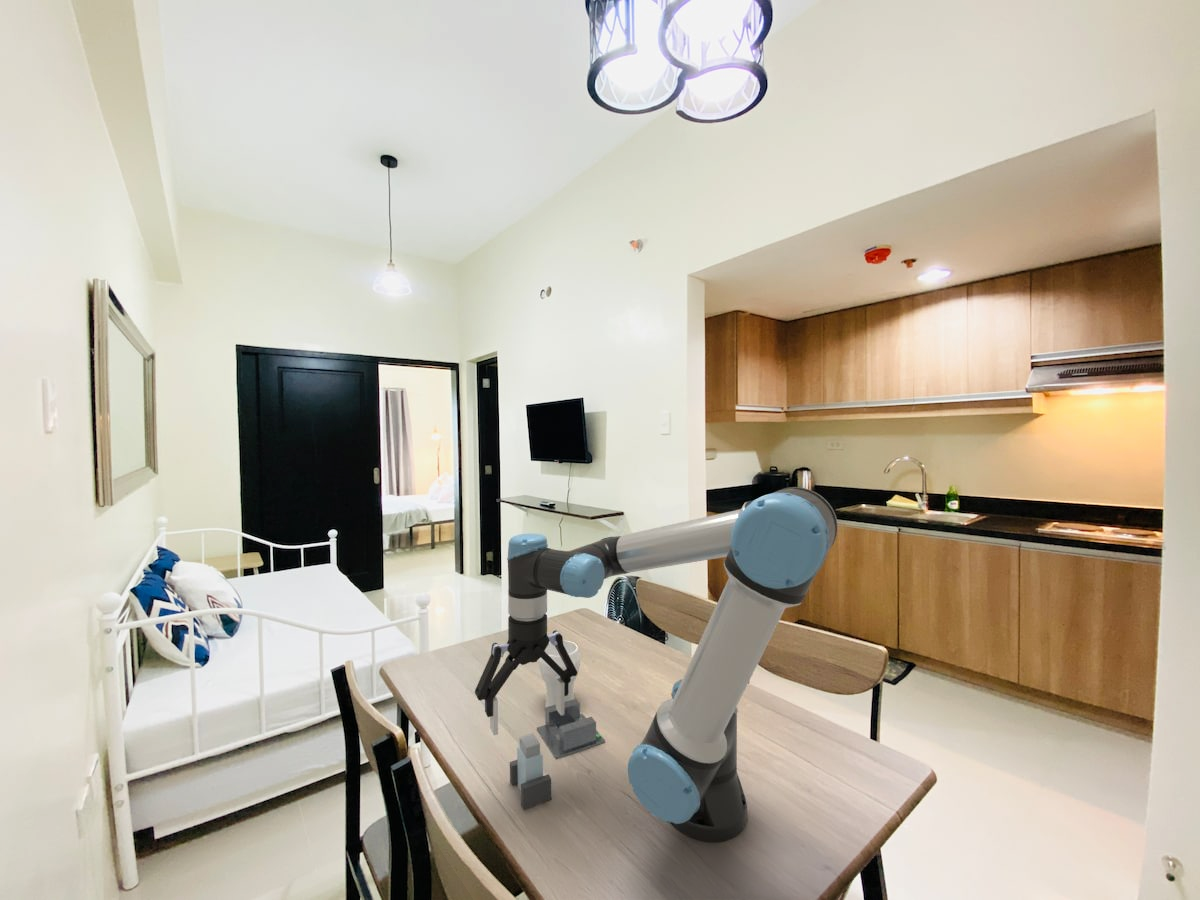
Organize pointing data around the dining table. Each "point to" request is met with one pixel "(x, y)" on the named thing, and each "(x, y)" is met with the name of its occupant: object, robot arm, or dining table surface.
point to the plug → (529, 759)
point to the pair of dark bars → (531, 788)
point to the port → (569, 730)
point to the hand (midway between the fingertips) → (528, 721)
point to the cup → (551, 675)
